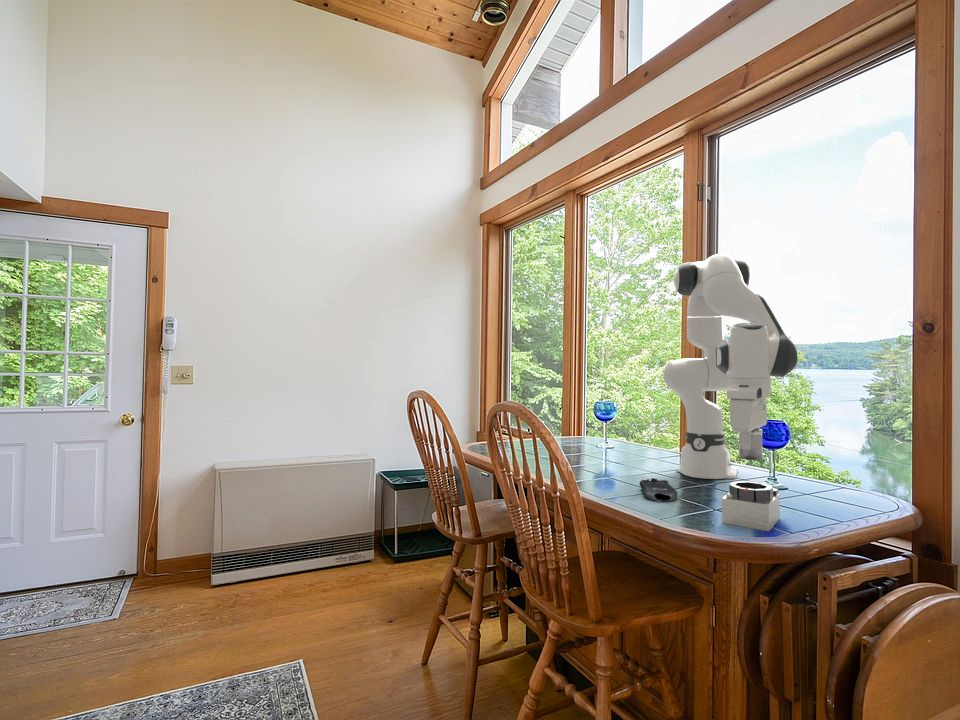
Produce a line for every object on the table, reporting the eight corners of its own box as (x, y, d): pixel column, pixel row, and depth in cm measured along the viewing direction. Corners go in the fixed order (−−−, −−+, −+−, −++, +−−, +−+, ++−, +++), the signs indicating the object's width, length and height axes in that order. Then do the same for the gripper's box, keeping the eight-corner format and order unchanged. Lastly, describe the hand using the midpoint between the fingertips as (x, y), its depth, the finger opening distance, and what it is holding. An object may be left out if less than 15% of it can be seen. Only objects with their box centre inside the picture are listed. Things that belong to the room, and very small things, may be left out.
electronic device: (636, 494, 162) (646, 500, 147) (638, 475, 162) (648, 480, 148) (667, 499, 161) (681, 505, 146) (669, 480, 161) (682, 485, 147)
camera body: (736, 510, 137) (735, 476, 137) (780, 517, 131) (779, 482, 131) (722, 523, 127) (721, 486, 127) (769, 531, 121) (768, 492, 121)
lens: (742, 455, 132) (741, 426, 132) (764, 457, 129) (764, 427, 129) (736, 458, 128) (736, 428, 128) (760, 461, 125) (759, 430, 125)
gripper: (746, 387, 139) (747, 441, 139) (724, 391, 123) (725, 451, 123) (773, 388, 135) (774, 443, 135) (754, 392, 119) (755, 454, 119)
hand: (750, 447), depth 129 cm, fingers closed on lens, 5 cm apart
